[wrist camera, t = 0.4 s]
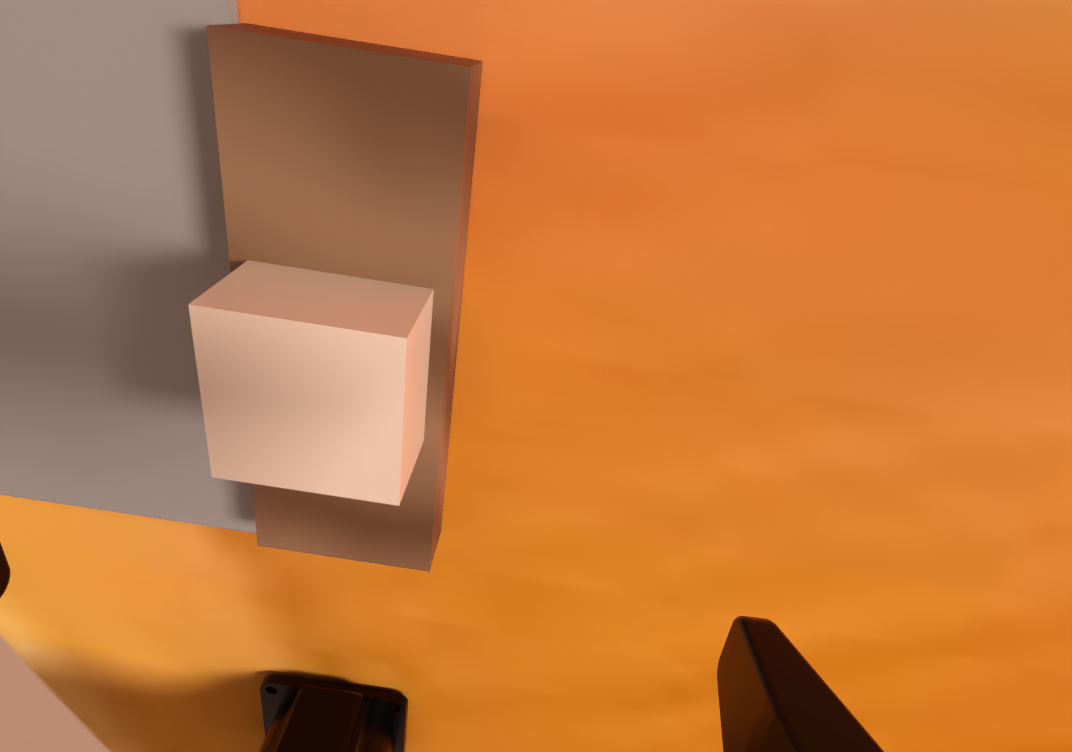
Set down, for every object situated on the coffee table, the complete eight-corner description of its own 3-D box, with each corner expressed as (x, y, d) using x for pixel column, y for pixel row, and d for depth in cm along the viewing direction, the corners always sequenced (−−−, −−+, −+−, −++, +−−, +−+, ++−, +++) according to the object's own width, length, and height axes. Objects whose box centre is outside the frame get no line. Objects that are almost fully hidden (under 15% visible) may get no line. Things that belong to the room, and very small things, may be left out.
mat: (277, 526, 25) (271, 535, 24) (-59, 475, 25) (-71, 483, 24) (234, -24, 16) (225, -25, 16) (-291, -108, 16) (-315, -112, 15)
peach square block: (423, 440, 20) (399, 505, 17) (261, 415, 20) (211, 477, 17) (433, 289, 17) (407, 338, 15) (248, 260, 17) (188, 304, 15)
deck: (440, 531, 24) (429, 571, 23) (281, 507, 24) (257, 545, 23) (482, 60, 16) (470, 67, 15) (246, 23, 16) (206, 24, 15)
